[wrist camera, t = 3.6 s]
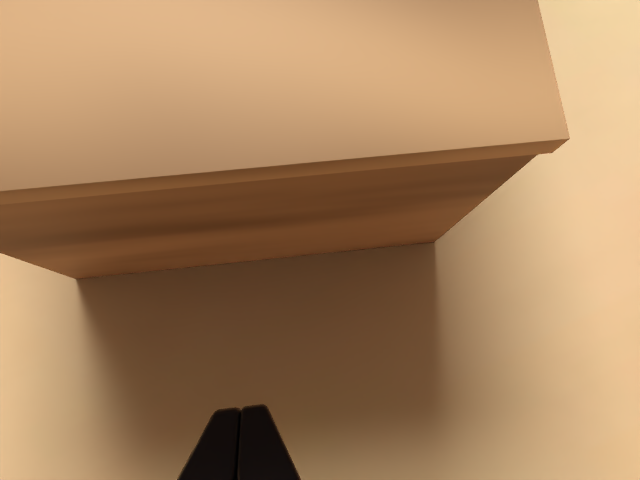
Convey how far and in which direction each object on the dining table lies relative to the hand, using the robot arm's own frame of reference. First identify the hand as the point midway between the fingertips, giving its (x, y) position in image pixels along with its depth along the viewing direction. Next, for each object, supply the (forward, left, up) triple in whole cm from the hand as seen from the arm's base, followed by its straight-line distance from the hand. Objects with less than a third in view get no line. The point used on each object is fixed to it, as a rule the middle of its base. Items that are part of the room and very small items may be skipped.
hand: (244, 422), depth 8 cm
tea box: (+6, -7, -7) cm, 11 cm away
